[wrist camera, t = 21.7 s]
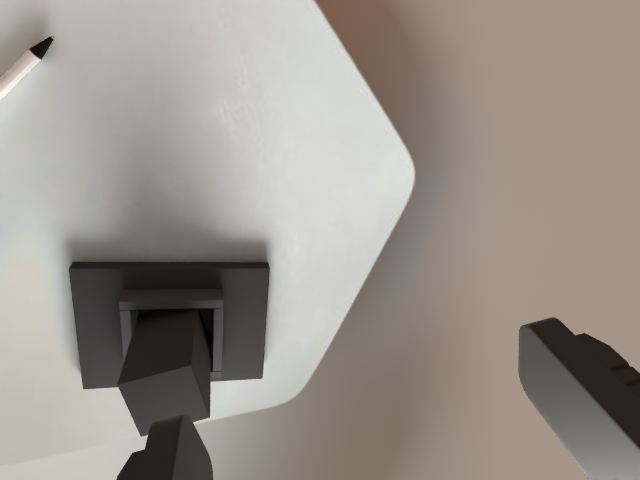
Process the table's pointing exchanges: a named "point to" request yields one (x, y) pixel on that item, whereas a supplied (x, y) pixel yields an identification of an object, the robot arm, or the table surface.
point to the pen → (23, 66)
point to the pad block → (167, 367)
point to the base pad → (169, 293)
